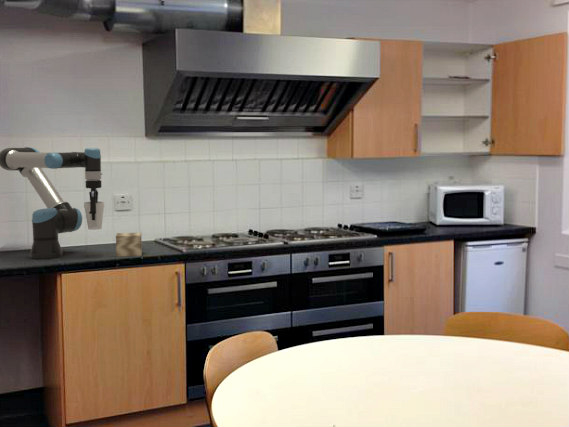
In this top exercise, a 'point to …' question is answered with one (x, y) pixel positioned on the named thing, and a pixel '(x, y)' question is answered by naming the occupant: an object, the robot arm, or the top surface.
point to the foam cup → (98, 212)
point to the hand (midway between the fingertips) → (94, 225)
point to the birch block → (128, 244)
